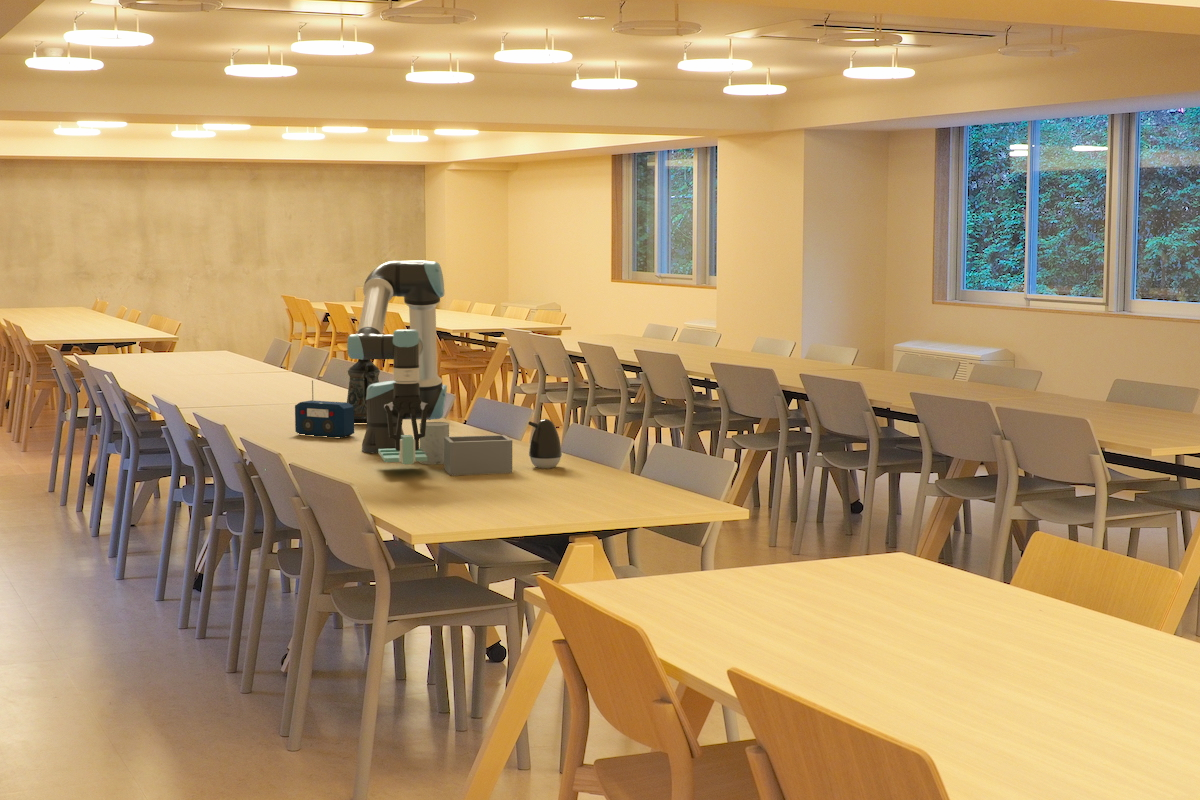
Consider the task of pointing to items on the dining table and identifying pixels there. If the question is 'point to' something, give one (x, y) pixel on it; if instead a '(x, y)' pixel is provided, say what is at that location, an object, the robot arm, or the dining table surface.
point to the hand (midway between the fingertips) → (407, 461)
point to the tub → (477, 455)
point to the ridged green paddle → (393, 455)
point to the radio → (324, 418)
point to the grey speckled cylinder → (434, 442)
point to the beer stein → (361, 387)
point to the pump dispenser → (545, 445)
